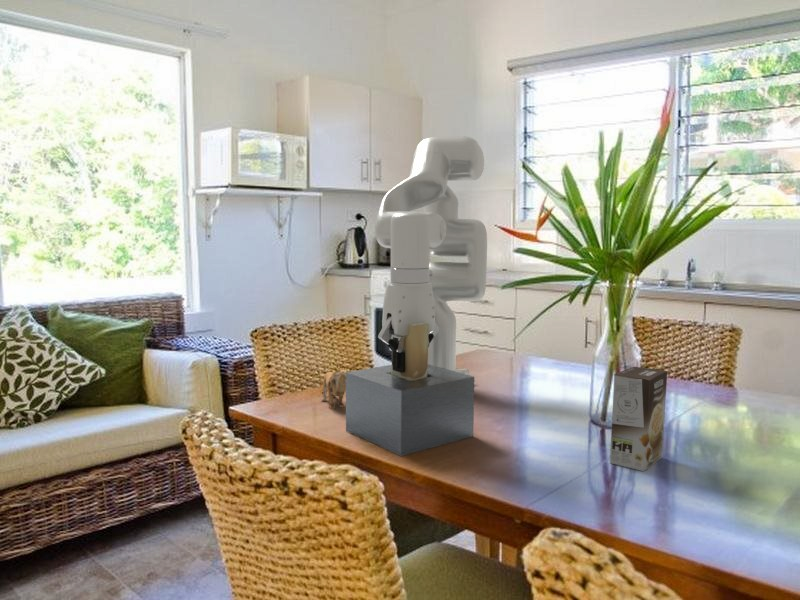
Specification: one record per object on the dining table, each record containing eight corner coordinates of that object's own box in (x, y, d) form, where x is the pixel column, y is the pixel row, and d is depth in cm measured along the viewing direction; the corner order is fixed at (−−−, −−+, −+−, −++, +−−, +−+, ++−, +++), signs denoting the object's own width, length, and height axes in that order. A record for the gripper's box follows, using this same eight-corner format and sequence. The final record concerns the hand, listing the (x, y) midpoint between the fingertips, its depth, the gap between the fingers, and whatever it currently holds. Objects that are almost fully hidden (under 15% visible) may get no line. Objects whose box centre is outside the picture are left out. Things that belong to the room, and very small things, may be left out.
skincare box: (390, 381, 133) (390, 320, 132) (405, 377, 136) (406, 318, 135) (413, 387, 129) (413, 324, 127) (429, 383, 132) (429, 321, 130)
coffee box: (645, 472, 114) (650, 380, 112) (608, 463, 118) (612, 374, 116) (663, 457, 121) (668, 370, 119) (628, 449, 125) (632, 365, 123)
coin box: (415, 414, 146) (415, 360, 145) (473, 436, 132) (474, 376, 130) (346, 430, 135) (345, 372, 134) (401, 456, 121) (401, 391, 119)
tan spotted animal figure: (357, 410, 150) (357, 370, 149) (335, 413, 147) (334, 373, 146) (331, 394, 163) (331, 358, 161) (311, 397, 160) (310, 360, 159)
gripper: (430, 273, 138) (429, 360, 140) (362, 278, 127) (363, 371, 130) (455, 276, 132) (454, 366, 134) (386, 281, 122) (386, 379, 124)
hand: (409, 368), depth 132 cm, fingers closed on skincare box, 4 cm apart
